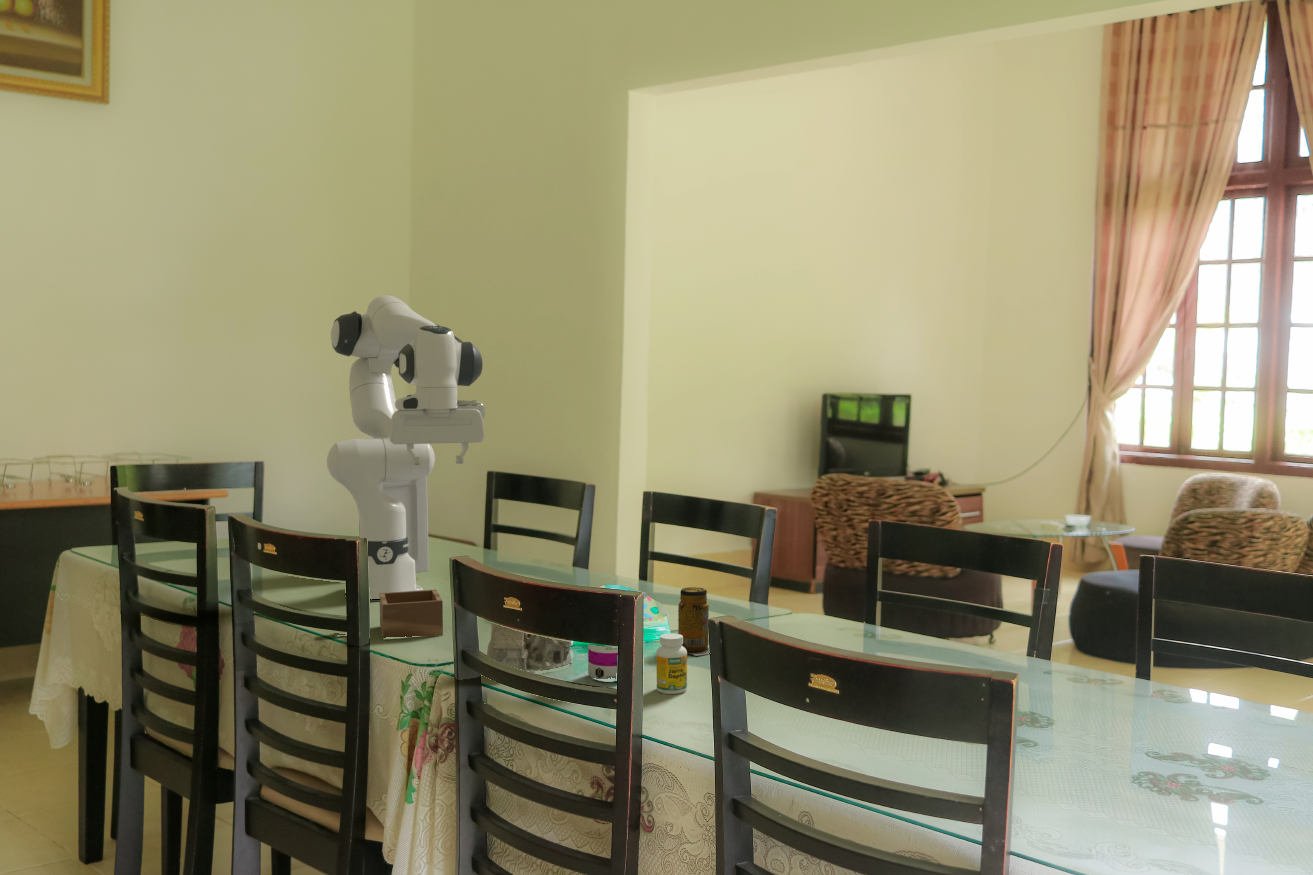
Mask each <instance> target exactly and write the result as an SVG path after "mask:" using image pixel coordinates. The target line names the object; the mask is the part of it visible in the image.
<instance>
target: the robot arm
mask: <svg viewBox="0 0 1313 875" xmlns="http://www.w3.org/2000/svg"><path fill="white" fill-rule="evenodd" d="M330 340H331V345H332V348H333V350H334V351H335V353H337V354H339V355H343V356H344V357H345V356H346V357H356V358H358V359H355V361H354V362H353V363H352V364H351V367H350V370H349V371H350V372H349V382H348V384H349V386H348V390H349V399H350V406H351V416H352V420H353V423H354V425H355V427H356V428H357V429H358V430H359V431H360V432H361V433H363V434H365V435H367V436H368V437H365V438H364V437H363V438H358V437H357V438H351V439H344V440H340V441H338V442H334V444H333V445H332V446H331V447H330V448H329V451H328V454H327V457H326V465H327V470H328V472H329V474H330V476H331V477H332V478H333V479H334V481H336V482H338V483H339V484H341V486H343V487H344V488H346V489H347V491H349V493H350V495H351V496H352V498H353V500H354V501H355V503H356V507H357V511H358V523H359V522H360V538H367V539H368V561H369V587H370V595H371V600H370V601H373V600H372V598H373V599H380V597H379V593H390V592H405V591H421V590H424V588H423V587H422V586H420V585H418V584H417V582H416V581H417V580H416V573H415V561H414V560H413V558H411V557H410V556H409V554H408V551H409V550H408V546H409V542H408V537H406V510H405V507H404V505H403V504H402V503H401V502H400V501H399V500H397V499H395V498H393V497H391V496H389V495H386V494H384V493H382V492H381V489H380V483H383V482H398V481H412V480H416V479H420V478H424V477H427V478H428V476H429V475H430V474H431V473H432V471H433V469H434V466H435V462H436V455H435V451H434V449H433V447H432V445H431V444H460V448H461V449H462V450H461V451H460V453H459V454H457V455H455V464H456V465H459V464H460V465H463V464H465V463H464V460H465V459H464V456H465V454H467V452H468V450H469V444H471V443H482V442H483V441H484V440H485V427H484V425H485V424H484V419H485V416H486V409H485V408H486V407H485V405H484V404H483V403H482V402H479V401H478V400H477V399H476V400H459V399H458V386H462V387H470V386H471V385H472V384H473V383H475V382H476V381H477V380H478V379H479V378H480V376H481V374H482V372H483V367H484V366H483V358H482V354H481V351H480V350H479V349H478V348H477V346H475V344H474V343H472V342H471V341H462V340H461V339H460V338H458V337H457V336H456V335H454V331H453V330H452V329H451V328H450V327H447V326H443V325H442V326H441V325H440V324H437V323H436V322H433V321H431V320H429V319H427V318H426V317H423V316H422V315H420V314H419V313H417V312H415V311H414V310H413V309H412V308H411V307H410V306H409V304H407V303H406V302H405V301H404V300H401V299H400V298H399V297H396V296H393V295H389V294H382V295H379V296H377V297H375V298H373V299H372V300H371V301H370V303H369V304H368V306H367V310H366V313H358V312H357V311H352V312H350V313H345V314H341V315H340V316H338V317H337V318H336V319H334V322H333V324H332V326H331V330H330ZM393 365H394V366H395V367H396V368H397V369H398V375H399V376H400V378H402V379H403V380H404V381H405V382H406V383H407V384H410V385H415V393H413V394H407V395H406V396H404V397H401V398H396V393H395V387H394V384H393V379H392V367H393ZM369 436H370V437H369Z"/></svg>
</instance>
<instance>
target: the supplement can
mask: <svg viewBox="0 0 1313 875" xmlns="http://www.w3.org/2000/svg"><path fill="white" fill-rule="evenodd" d="M617 655H618V650H617V648H612V647H602V646H596V645H588V644H587V671H588V672H587V673H588V674H587V675H588V676H590V678H592V677H593V678H596V679H608V678H610V679H611V677H612V678H615V679H616V673H617Z"/></svg>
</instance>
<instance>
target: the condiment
mask: <svg viewBox="0 0 1313 875" xmlns="http://www.w3.org/2000/svg"><path fill="white" fill-rule="evenodd" d="M679 593H680V597H679V598H680V601H679V603H678V606H677V607H678V610H677V611H678V612H677V613H678V620H677V622H678V623H677V624H678V631H677V632H678V633H677V634H680V635H682V636H683V644H682V646H683V647H684V648H685V649H686V651H687V655H688V654H689V655H693V656H704V655H709V646H710V645H709V643H710V642H709V638H708V634H709V629H708V623H709V622H708V621H710V619H709V617H710V613H709V610H710V609H709V608H710V606H709V602H707V600H708V597H707V596H708V595H707V594H708V591H707V589H706V588H704V587H703V588H702V587H697V586H695V587H694V586H691V587H690V586H689V587H688V586H687V587H684V588H681V590H680V592H679Z"/></svg>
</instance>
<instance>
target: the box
mask: <svg viewBox="0 0 1313 875" xmlns="http://www.w3.org/2000/svg"><path fill="white" fill-rule="evenodd" d="M379 597H380V600H379V626H381V628H380V632H381V631H382V632H381V635H382V634H383V637H382V639H383V638H386V637H405V636H406V637H412V636H430V637H438V636H437V635H443V636H444V618H443V617H444V613H443V612H444V611H443V605H444V604H443V599H442V597H441V595H440V594H439V592H438V590H437V589H423V590H421V591H405V592H390V593H379ZM435 635H436V636H435Z"/></svg>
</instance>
